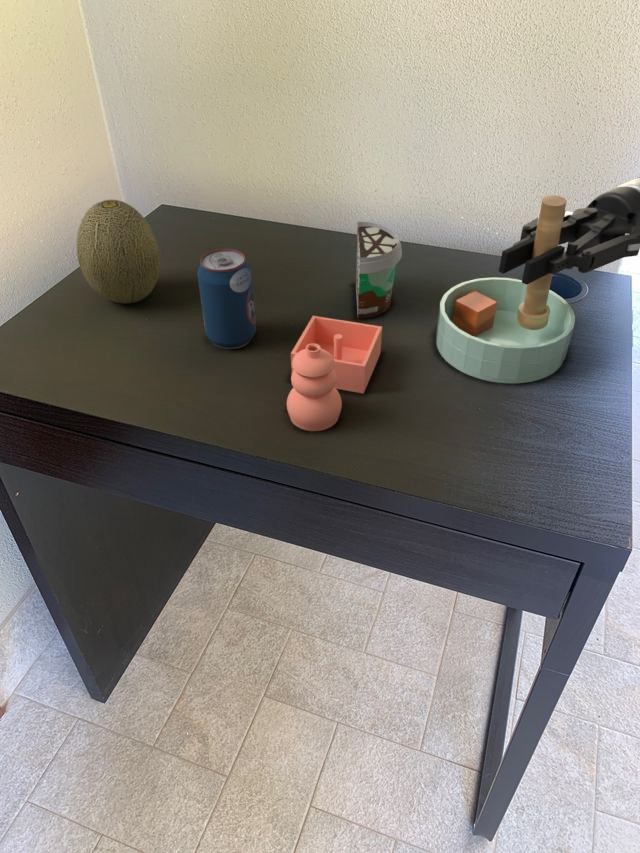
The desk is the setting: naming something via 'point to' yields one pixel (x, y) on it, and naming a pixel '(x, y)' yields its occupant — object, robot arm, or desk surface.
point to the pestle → (547, 237)
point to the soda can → (227, 298)
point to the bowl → (505, 335)
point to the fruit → (118, 252)
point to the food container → (375, 267)
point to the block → (474, 313)
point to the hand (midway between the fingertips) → (514, 267)
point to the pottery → (330, 369)
